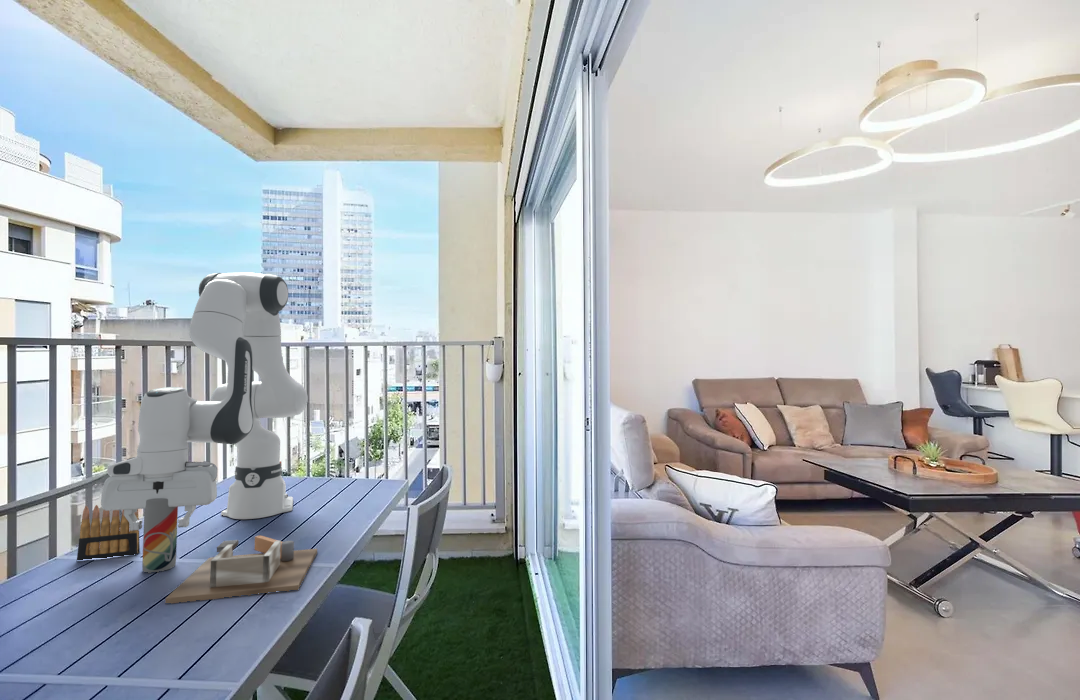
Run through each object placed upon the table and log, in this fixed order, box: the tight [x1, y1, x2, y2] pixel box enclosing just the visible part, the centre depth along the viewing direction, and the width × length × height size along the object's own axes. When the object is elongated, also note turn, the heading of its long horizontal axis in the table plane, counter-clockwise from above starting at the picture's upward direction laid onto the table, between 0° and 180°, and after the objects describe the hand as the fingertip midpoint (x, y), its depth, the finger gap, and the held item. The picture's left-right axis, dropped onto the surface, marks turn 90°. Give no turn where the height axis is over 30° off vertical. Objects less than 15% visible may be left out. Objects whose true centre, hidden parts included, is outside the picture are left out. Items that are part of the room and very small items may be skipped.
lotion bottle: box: [141, 481, 179, 574], centre depth 104 cm, size 6×6×20 cm
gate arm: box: [254, 534, 295, 561], centre depth 109 cm, size 13×2×4 cm, turn 60°
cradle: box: [164, 539, 318, 604], centre depth 101 cm, size 20×22×6 cm
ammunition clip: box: [76, 504, 141, 561], centre depth 110 cm, size 11×2×12 cm, turn 113°
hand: (160, 528), depth 104 cm, fingers open, 7 cm apart
